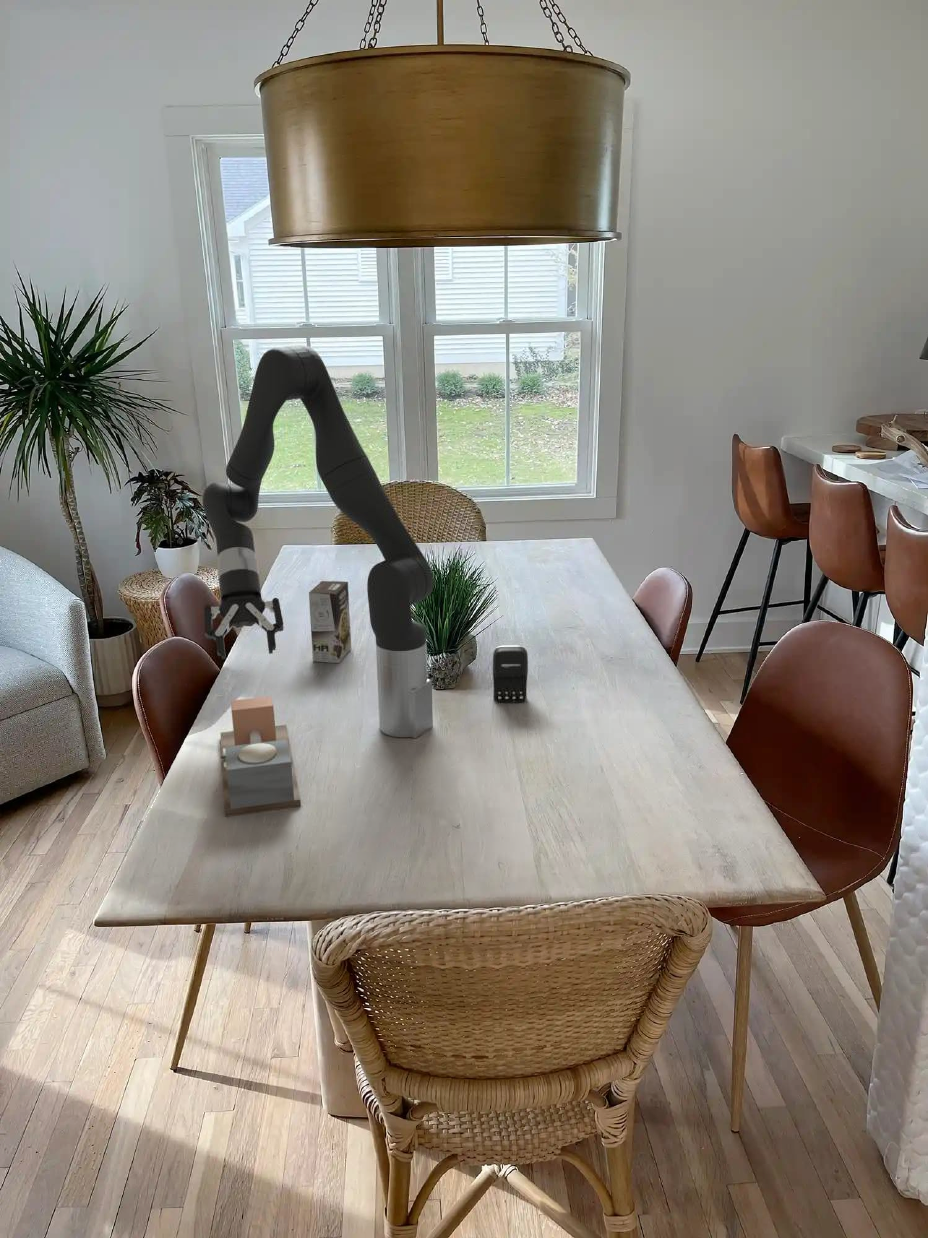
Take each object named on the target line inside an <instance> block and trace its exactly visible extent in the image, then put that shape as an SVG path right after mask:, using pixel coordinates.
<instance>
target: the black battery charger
mask: <svg viewBox="0 0 928 1238" xmlns="http://www.w3.org/2000/svg"><path fill="white" fill-rule="evenodd" d="M528 656H529V654H528V650H527V649H526V647H525V646H523V645H513V644H511V645H510V644H509V645H508V644H507V645H505V644H504V645H499V646H496V647H495V648H494V650H493V652H492V681H493V687H492V688H493V692H492V693H493V694H492V697H493V700H494V702H496V703H499V704H500V703H501V704H502V703H503V704H506V703H507V704H512V703H513V704H515V703H516V704H517V703H518V704H519V702H521V703H524V702H526V701H527V697H528V692H527V690H528V689H527V688H528V687H527V686H528V684H527V683H528V673H529V672H528V671H529V657H528Z"/></svg>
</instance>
